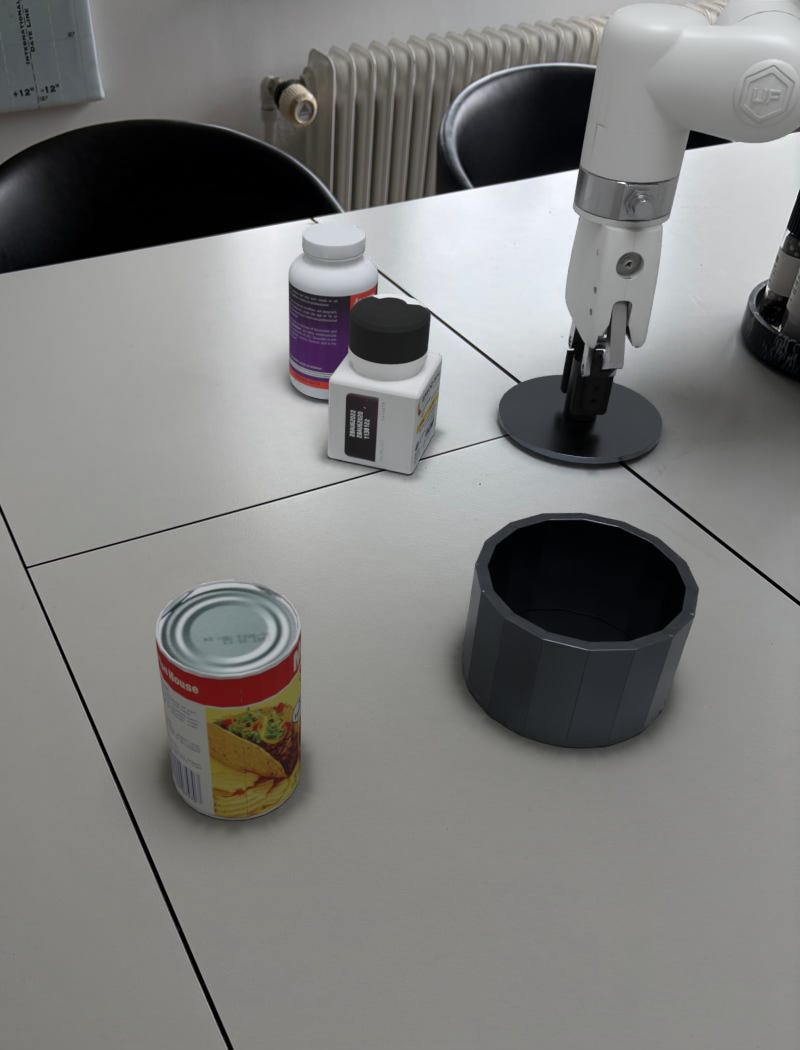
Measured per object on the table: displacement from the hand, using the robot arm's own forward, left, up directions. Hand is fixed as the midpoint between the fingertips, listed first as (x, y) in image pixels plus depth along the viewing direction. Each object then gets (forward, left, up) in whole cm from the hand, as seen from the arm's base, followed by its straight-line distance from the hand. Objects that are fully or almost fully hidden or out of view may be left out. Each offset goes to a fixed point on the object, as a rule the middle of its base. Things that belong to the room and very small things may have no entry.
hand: (582, 400), depth 93 cm
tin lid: (0, 0, -2) cm, 2 cm away
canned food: (+30, +40, -3) cm, 50 cm away
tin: (+8, +32, -3) cm, 33 cm away
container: (+18, +3, -3) cm, 19 cm away
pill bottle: (+22, -8, -3) cm, 24 cm away
